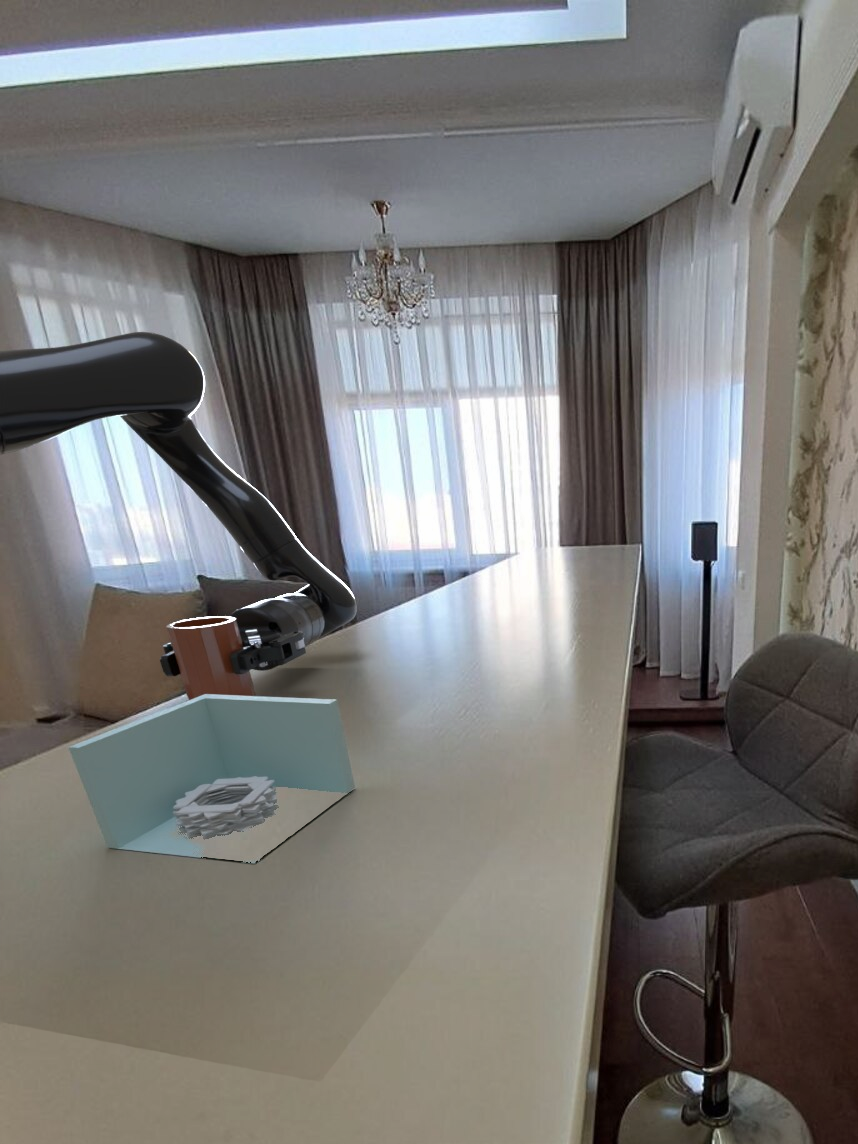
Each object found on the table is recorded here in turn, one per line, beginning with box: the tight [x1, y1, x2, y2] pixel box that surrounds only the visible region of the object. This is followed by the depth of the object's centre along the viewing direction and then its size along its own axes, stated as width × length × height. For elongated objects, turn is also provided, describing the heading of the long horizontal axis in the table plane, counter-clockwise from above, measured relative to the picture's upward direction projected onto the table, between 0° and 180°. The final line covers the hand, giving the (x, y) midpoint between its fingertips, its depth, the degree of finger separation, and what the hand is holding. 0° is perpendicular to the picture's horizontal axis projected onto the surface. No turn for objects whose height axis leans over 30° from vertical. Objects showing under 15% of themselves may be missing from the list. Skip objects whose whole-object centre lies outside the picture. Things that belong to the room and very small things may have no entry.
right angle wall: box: [68, 694, 356, 864], centre depth 50 cm, size 12×12×8 cm
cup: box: [165, 616, 257, 701], centre depth 73 cm, size 6×6×10 cm
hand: (201, 665), depth 70 cm, fingers closed on cup, 6 cm apart
